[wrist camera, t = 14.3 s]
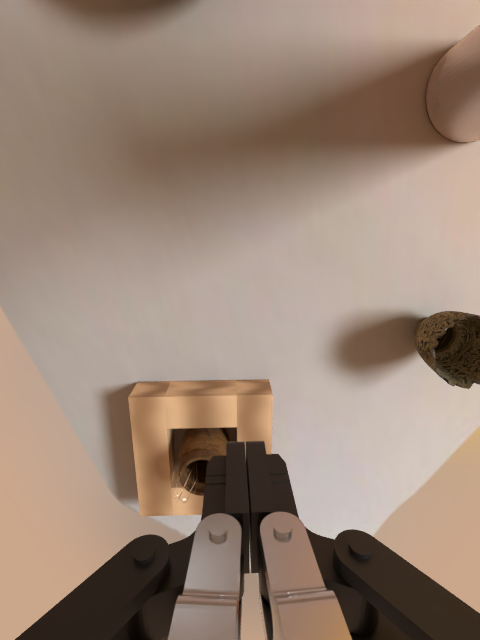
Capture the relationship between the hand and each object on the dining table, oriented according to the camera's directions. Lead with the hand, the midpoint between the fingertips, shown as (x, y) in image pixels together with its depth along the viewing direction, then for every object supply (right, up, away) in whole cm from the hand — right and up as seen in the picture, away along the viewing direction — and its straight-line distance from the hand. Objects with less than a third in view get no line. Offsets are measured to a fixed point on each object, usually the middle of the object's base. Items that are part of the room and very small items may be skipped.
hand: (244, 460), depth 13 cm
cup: (+22, +4, +28) cm, 36 cm away
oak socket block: (-5, -10, +30) cm, 32 cm away
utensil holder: (-4, -9, +30) cm, 32 cm away
